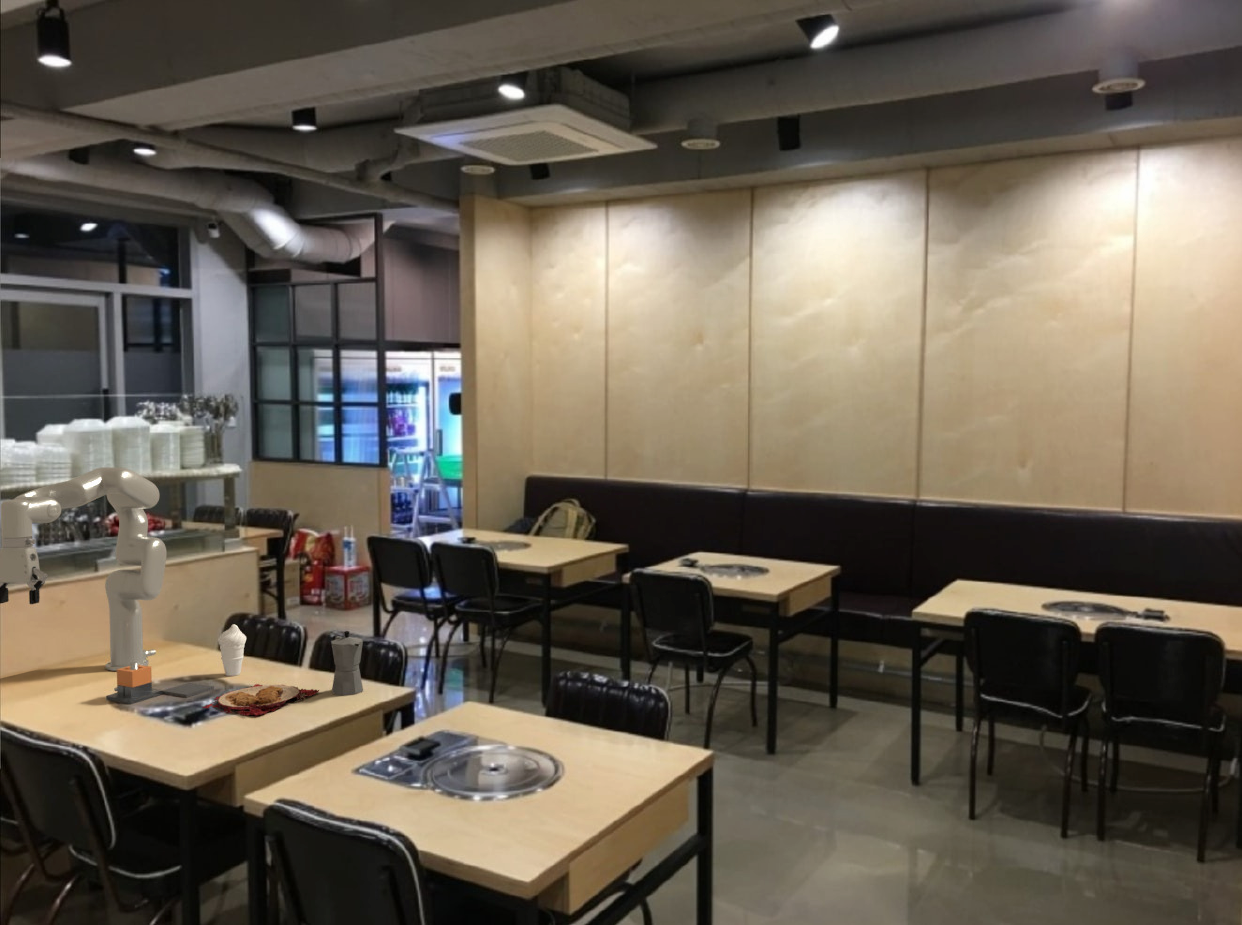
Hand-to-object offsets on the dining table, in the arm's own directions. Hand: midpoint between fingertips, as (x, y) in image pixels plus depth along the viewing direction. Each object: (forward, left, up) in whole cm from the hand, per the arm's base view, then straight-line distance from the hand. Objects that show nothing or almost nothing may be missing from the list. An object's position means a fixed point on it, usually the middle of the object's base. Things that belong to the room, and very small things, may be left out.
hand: (18, 603), depth 284 cm
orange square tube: (-16, +26, -24) cm, 39 cm away
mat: (-27, +35, -28) cm, 53 cm away
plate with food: (-28, +61, -29) cm, 73 cm away
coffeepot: (-47, +77, -28) cm, 95 cm away
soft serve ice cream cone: (-47, +32, -28) cm, 64 cm away
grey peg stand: (-16, +26, -28) cm, 42 cm away
